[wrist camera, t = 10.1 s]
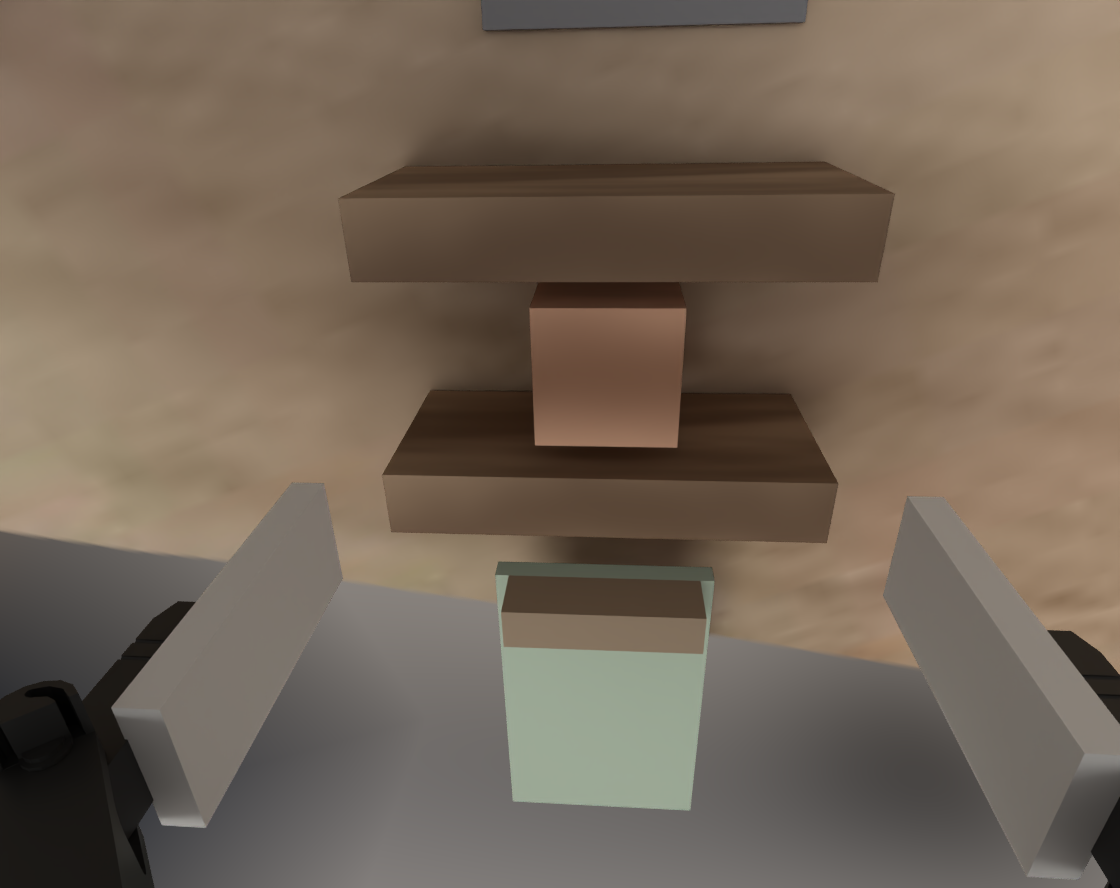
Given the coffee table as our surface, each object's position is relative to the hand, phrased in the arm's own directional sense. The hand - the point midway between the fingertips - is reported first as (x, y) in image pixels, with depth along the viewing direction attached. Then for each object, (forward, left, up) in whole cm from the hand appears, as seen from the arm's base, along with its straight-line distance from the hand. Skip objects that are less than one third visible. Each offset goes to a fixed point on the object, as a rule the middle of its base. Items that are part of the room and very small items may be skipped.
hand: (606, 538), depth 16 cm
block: (0, 0, -16) cm, 16 cm away
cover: (+13, 0, -8) cm, 16 cm away
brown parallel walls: (0, 0, -16) cm, 16 cm away
